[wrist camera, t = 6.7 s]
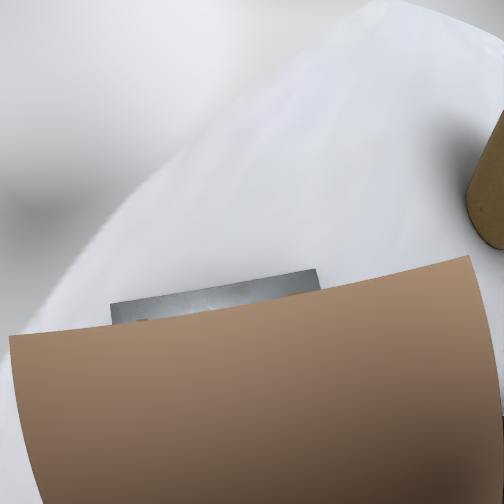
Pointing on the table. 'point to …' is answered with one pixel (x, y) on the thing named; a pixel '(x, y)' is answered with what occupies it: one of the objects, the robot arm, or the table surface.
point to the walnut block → (274, 400)
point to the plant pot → (489, 190)
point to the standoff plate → (215, 297)
